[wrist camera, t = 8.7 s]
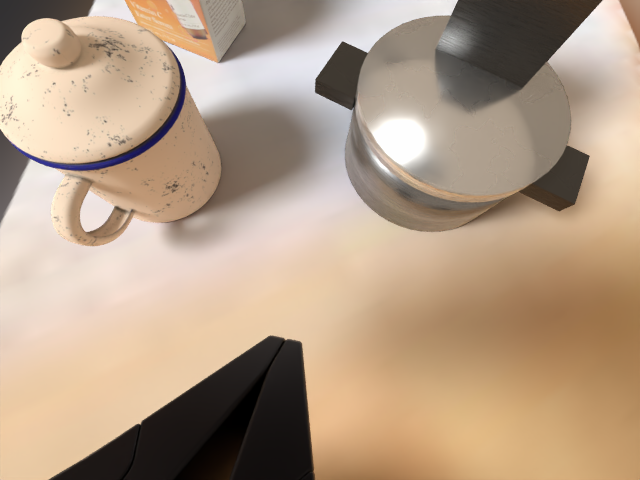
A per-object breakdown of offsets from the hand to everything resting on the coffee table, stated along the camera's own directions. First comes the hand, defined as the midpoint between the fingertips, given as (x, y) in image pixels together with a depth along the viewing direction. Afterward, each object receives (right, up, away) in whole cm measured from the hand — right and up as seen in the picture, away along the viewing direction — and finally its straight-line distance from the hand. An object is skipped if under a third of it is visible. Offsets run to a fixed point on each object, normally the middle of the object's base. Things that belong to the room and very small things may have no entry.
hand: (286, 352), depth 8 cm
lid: (+10, +11, +12) cm, 19 cm away
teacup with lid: (-11, +7, +16) cm, 21 cm away
